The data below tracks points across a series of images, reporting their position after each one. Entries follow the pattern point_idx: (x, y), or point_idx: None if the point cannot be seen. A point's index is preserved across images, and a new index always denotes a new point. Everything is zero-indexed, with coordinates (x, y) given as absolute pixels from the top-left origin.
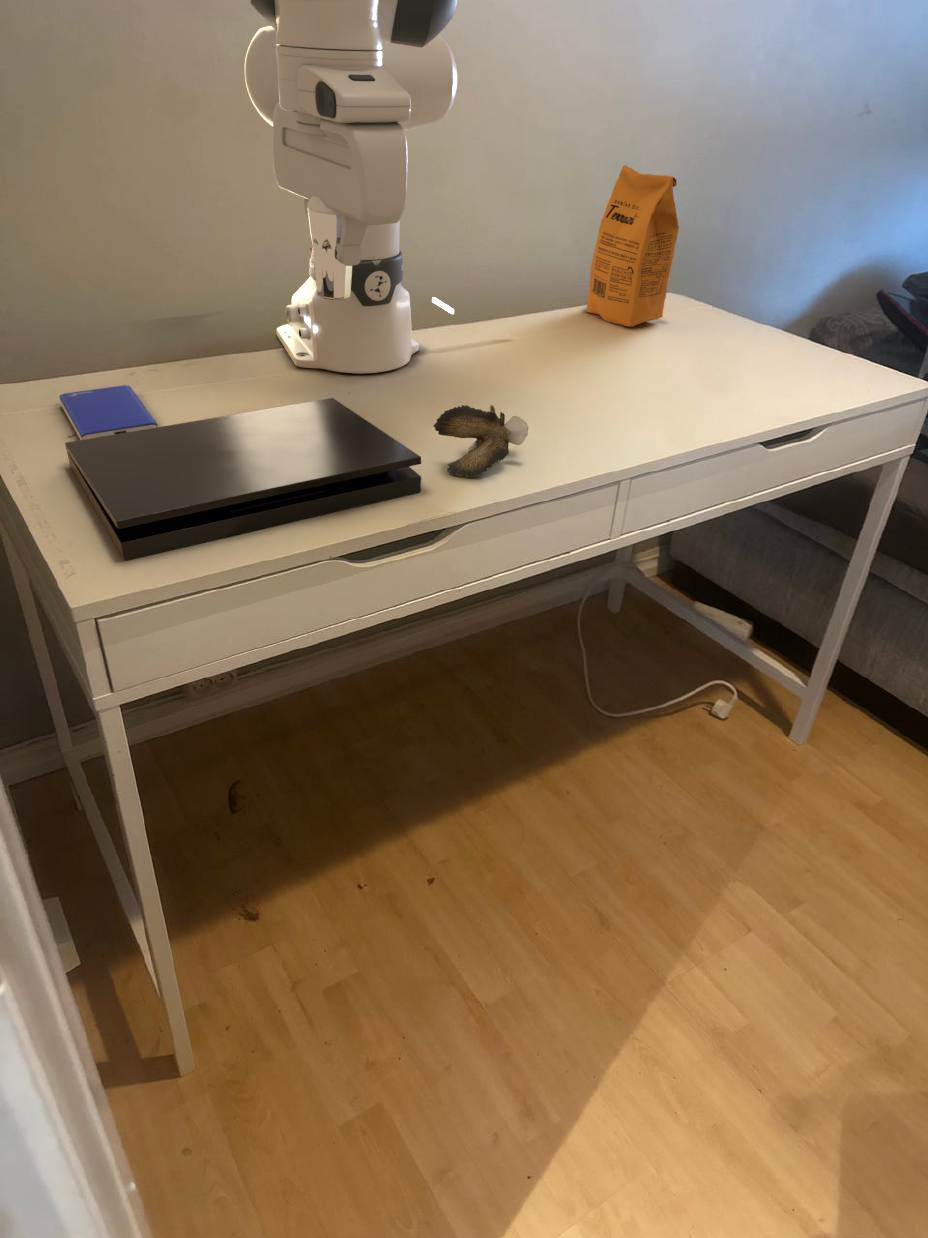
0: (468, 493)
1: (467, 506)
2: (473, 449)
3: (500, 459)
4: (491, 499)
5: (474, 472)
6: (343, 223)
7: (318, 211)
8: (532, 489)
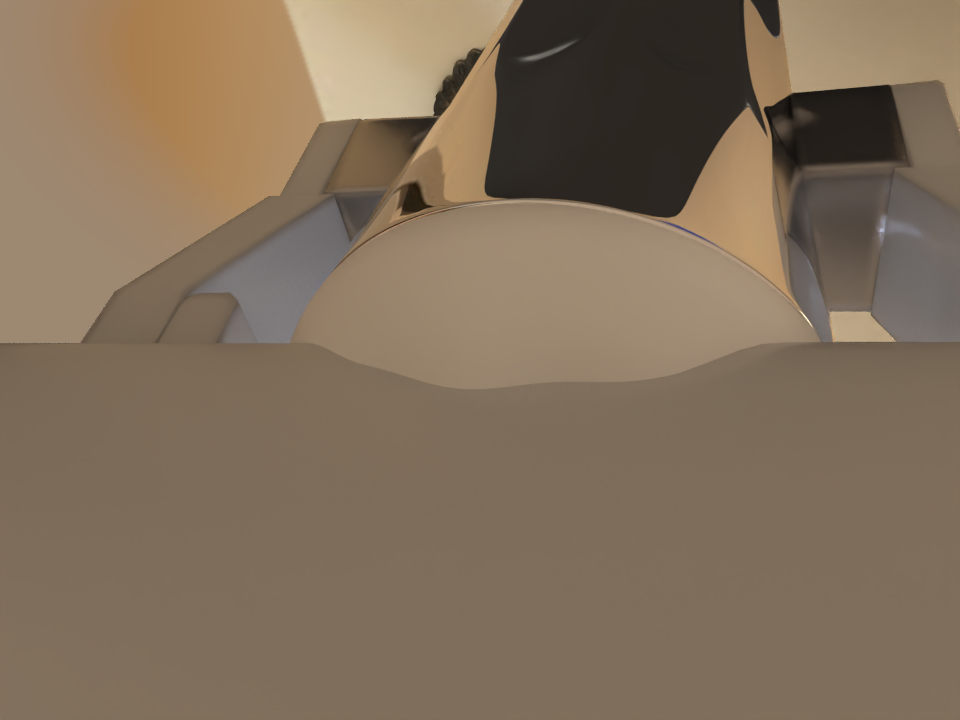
0: (360, 42)
1: (288, 5)
2: None
3: None
4: (317, 80)
5: (440, 106)
6: (151, 311)
7: (367, 244)
8: None
